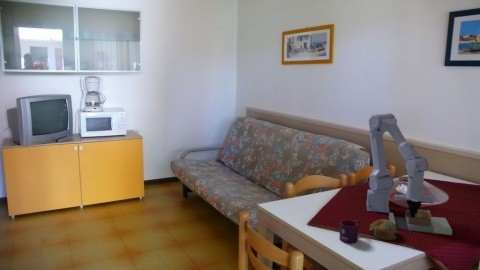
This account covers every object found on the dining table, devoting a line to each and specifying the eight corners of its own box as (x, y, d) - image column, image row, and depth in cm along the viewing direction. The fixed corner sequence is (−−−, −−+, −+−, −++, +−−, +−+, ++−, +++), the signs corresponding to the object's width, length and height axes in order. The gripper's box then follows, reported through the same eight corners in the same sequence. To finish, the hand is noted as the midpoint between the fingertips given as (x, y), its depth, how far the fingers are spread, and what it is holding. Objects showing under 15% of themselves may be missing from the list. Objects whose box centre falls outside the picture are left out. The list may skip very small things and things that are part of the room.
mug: (335, 238, 143) (336, 222, 142) (352, 232, 148) (353, 216, 147) (349, 245, 138) (350, 228, 136) (366, 238, 143) (367, 221, 142)
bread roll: (388, 250, 141) (399, 235, 138) (364, 234, 145) (374, 218, 142) (393, 240, 149) (403, 225, 146) (370, 224, 153) (379, 210, 150)
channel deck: (391, 228, 152) (392, 217, 151) (389, 216, 163) (389, 207, 162) (451, 235, 145) (452, 224, 144) (445, 222, 156) (446, 212, 156)
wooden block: (416, 223, 152) (417, 213, 151) (415, 218, 156) (416, 209, 155) (430, 224, 150) (431, 215, 149) (428, 219, 155) (429, 210, 154)
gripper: (396, 188, 150) (394, 219, 153) (436, 191, 146) (433, 223, 148) (395, 182, 157) (392, 213, 159) (433, 185, 152) (430, 216, 155)
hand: (412, 217), depth 154 cm, fingers closed
